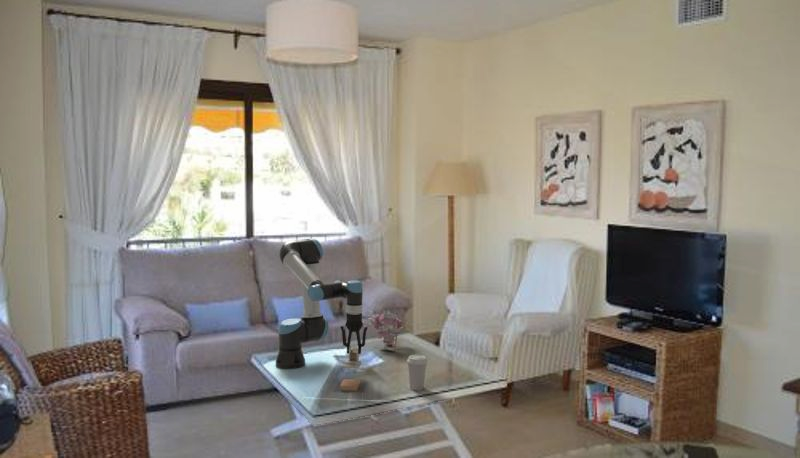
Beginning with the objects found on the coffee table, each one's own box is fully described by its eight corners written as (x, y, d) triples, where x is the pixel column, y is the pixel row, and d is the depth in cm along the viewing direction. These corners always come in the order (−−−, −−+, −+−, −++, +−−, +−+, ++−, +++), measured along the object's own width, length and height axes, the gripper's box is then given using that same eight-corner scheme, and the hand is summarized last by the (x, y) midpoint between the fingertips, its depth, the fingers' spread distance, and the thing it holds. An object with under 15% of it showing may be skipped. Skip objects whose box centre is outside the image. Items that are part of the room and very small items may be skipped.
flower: (421, 345, 382) (407, 303, 387) (400, 350, 362) (385, 306, 368) (393, 355, 391) (380, 314, 397) (371, 361, 372) (358, 318, 377)
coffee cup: (409, 392, 310) (409, 360, 308) (404, 385, 319) (405, 354, 318) (429, 391, 312) (429, 359, 310) (424, 384, 321) (424, 353, 320)
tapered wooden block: (348, 356, 332) (348, 346, 332) (364, 357, 332) (364, 347, 331) (341, 367, 315) (341, 357, 314) (358, 368, 314) (358, 358, 313)
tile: (343, 379, 319) (340, 385, 310) (360, 379, 318) (357, 386, 309) (343, 383, 319) (340, 390, 310) (360, 384, 318) (357, 391, 309)
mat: (338, 382, 322) (338, 381, 322) (367, 383, 321) (367, 382, 321) (333, 392, 309) (333, 391, 309) (363, 393, 308) (363, 392, 308)
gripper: (336, 314, 319) (336, 361, 322) (369, 315, 318) (369, 363, 321) (339, 310, 327) (339, 356, 330) (371, 311, 325) (371, 358, 328)
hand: (353, 359), depth 325 cm, fingers closed on tapered wooden block, 3 cm apart
